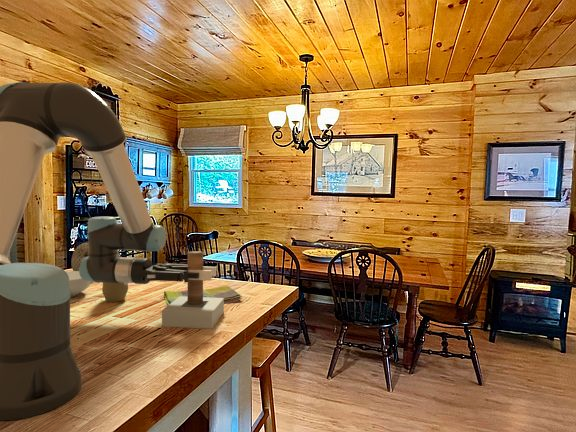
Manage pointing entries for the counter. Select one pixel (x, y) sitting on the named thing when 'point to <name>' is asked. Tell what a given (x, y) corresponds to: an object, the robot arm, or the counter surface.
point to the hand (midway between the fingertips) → (213, 273)
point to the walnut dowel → (195, 285)
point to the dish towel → (207, 294)
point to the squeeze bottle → (114, 290)
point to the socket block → (193, 313)
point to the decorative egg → (79, 256)
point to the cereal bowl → (76, 282)
